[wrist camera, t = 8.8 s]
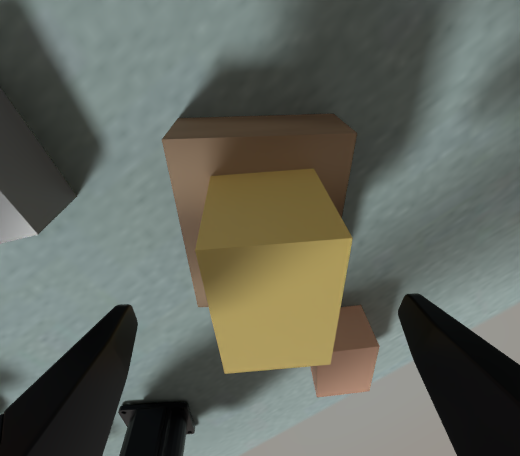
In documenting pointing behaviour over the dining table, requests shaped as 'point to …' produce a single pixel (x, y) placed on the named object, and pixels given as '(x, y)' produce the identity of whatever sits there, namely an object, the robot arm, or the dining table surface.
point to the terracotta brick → (348, 356)
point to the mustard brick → (272, 269)
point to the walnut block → (251, 161)
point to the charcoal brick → (26, 179)
